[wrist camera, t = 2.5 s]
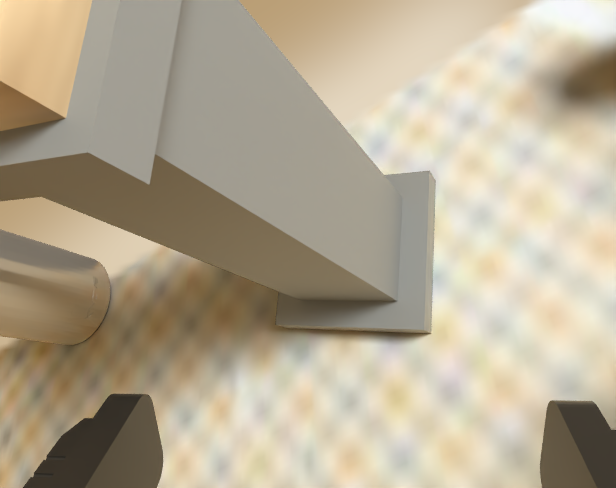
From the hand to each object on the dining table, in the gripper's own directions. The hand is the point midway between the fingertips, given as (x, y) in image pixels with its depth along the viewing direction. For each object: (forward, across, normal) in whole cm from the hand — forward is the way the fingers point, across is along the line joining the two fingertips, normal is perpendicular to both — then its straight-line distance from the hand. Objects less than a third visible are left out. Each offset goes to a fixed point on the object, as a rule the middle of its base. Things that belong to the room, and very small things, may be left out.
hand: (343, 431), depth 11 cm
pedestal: (+32, -1, -10) cm, 33 cm away
